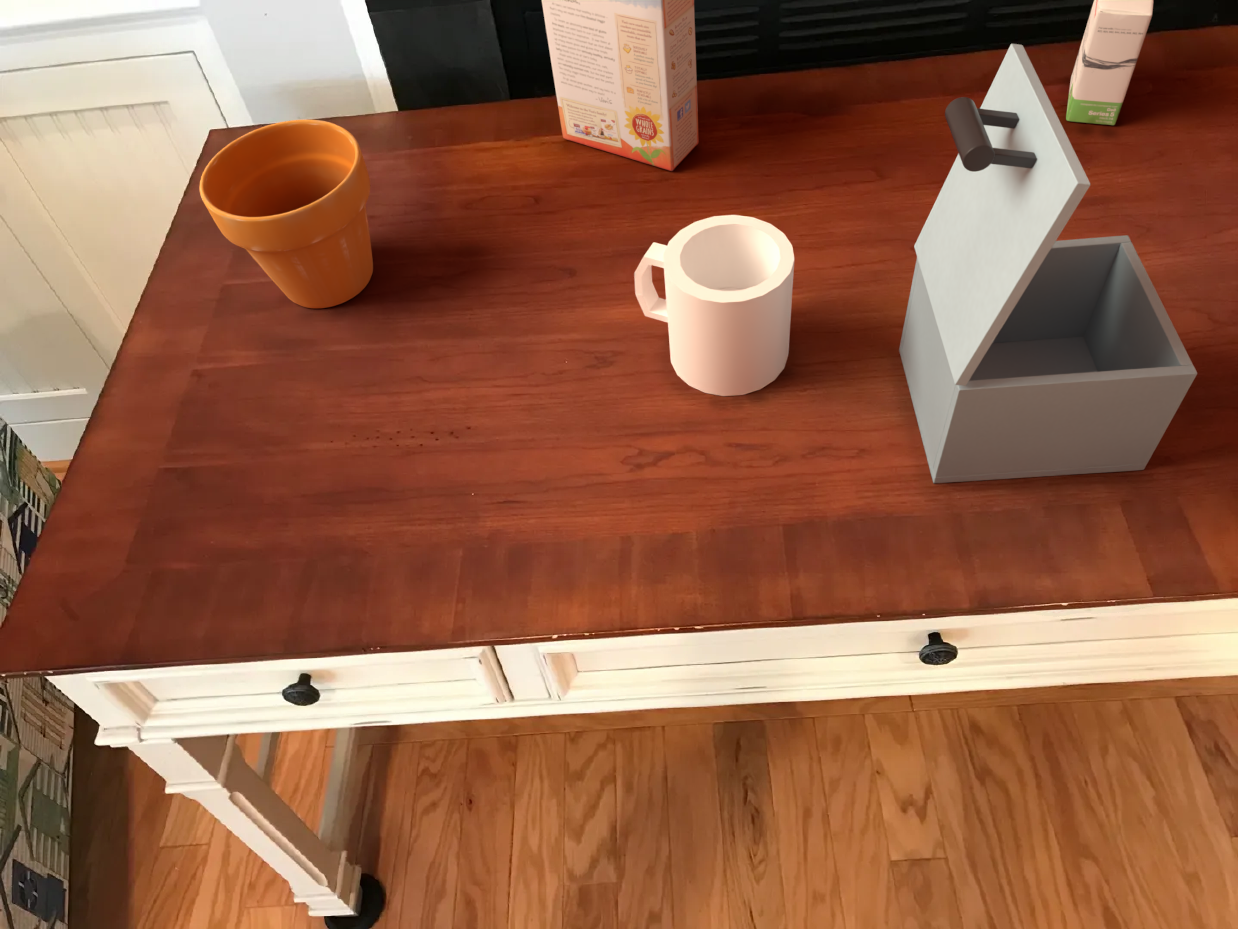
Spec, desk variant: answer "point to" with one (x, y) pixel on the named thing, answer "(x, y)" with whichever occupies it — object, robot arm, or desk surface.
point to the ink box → (1107, 59)
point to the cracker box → (626, 76)
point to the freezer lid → (996, 209)
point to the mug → (723, 302)
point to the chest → (1053, 373)
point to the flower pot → (296, 207)
